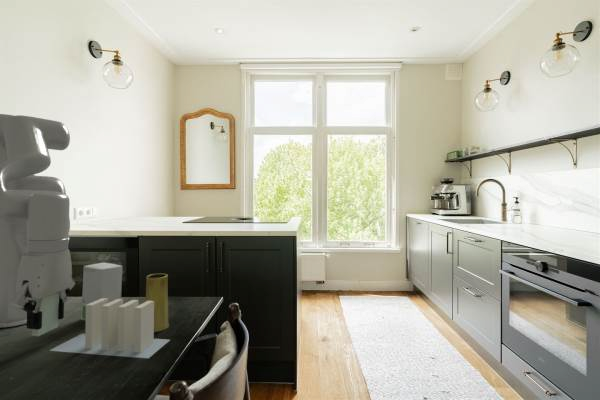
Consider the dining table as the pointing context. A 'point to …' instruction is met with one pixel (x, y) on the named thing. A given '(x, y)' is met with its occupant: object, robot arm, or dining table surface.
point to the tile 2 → (94, 323)
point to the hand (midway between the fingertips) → (45, 322)
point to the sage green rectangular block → (48, 314)
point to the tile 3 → (110, 324)
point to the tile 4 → (126, 325)
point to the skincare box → (101, 284)
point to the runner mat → (79, 347)
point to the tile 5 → (143, 326)
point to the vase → (158, 299)
